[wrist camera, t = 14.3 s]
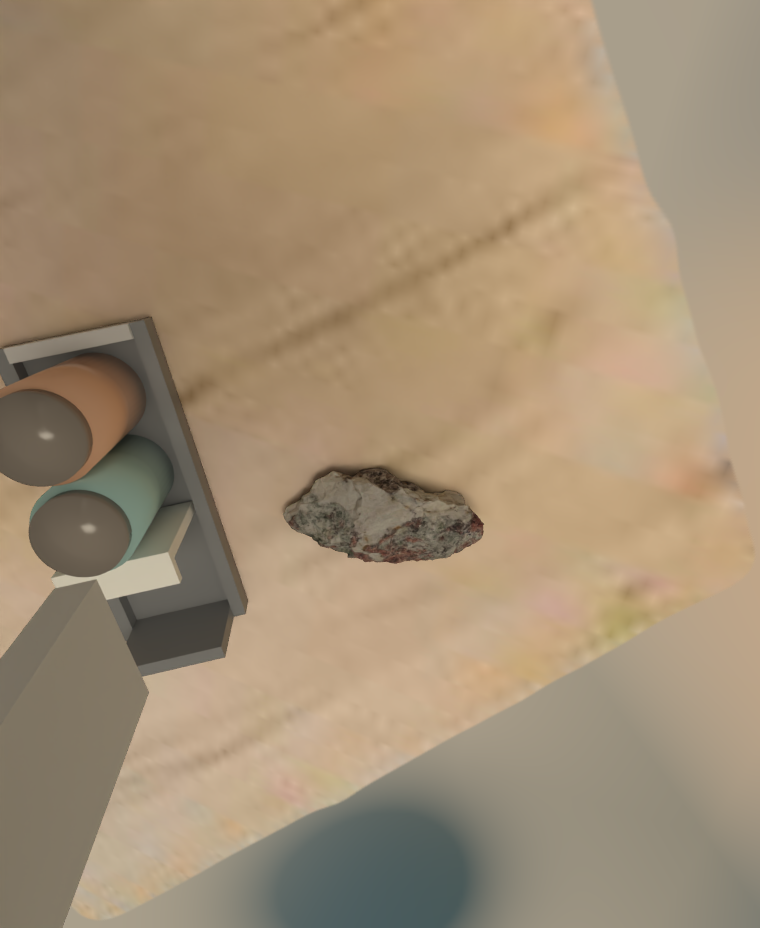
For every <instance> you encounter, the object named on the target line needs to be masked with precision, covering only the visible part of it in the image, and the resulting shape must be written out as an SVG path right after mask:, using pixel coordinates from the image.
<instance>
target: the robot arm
mask: <svg viewBox="0 0 760 928" xmlns="http://www.w3.org/2000/svg"><path fill="white" fill-rule="evenodd" d="M148 694H149V691H148V689H147V687H146V685H145V682H144V680H143V678H142V676H141V674H140V672H139V669H138V667H137V665H136V663H135V661H134V659H133V657H132V654H131V652H130V650H129V648H128V646H127V644H126V641H125V639H124V637H123V635H122V633H121V631H120V629H119V626H118V624H117V622H116V620H115V618H114V616H113V613H112V611H111V609H110V607H109V605H108V603H107V600H106V598H105V596H104V594H103V592H102V590H101V588H100V585H99V583H98V581H97V579H95V580H90V581H86V582H81V583H77V584H73V585H68V586H64V587H59V588H55V589H54V590H53V591H52V592H51V594H50V595H49V596H48V598H47V599H46V600H45V601H44V603H43V604H42V605H41V607H40V608H39V609H38V611H37V612H36V613H35V615H34V616H33V617H32V618H31V620H30V621H29V622H28V624H27V625H26V626H25V628H24V629H23V630H22V632H21V633H20V634H19V635H18V637H17V638H16V639H15V641H14V642H13V643H12V645H11V646H10V647H9V649H8V650H7V651H6V652H5V654H4V655H3V656H2V658H1V659H0V928H62V927H63V925H64V922H65V919H66V917H67V914H68V911H69V909H70V906H71V903H72V900H73V898H74V895H75V892H76V890H77V887H78V884H79V881H80V879H81V876H82V873H83V870H84V868H85V865H86V862H87V860H88V857H89V854H90V851H91V849H92V846H93V843H94V841H95V838H96V835H97V832H98V830H99V827H100V824H101V822H102V819H103V816H104V813H105V811H106V808H107V805H108V802H109V800H110V797H111V794H112V792H113V789H114V786H115V783H116V781H117V778H118V775H119V773H120V770H121V767H122V764H123V762H124V759H125V756H126V754H127V751H128V748H129V745H130V743H131V740H132V737H133V734H134V732H135V729H136V726H137V724H138V721H139V718H140V715H141V713H142V710H143V707H144V705H145V702H146V699H147V696H148Z"/></svg>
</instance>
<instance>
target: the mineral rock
mask: <svg viewBox="0 0 760 928" xmlns="http://www.w3.org/2000/svg"><path fill="white" fill-rule="evenodd" d="M283 515H284V519H285V520H286V522H287V523H288V524H289V525H290V527H291V528H292V529H294V530H296V531H297V532H300V533H303V534H305V535H308V536H310V537H312V538H313V540H315V541H317V542H318V544H319V545H320V546H322V547H326V548H329V547H330V548H331V549H333V550H335V551H338V552H345V553H347V554H348V558H359V559H363V561H364V562H371V561H375V562H390V563H395V564H397V563H400V562H403V561H410V560H415V561H419V560H434V559H439V558H447V557H450V556H451V555H452V554H454V553H458V552H460V551H462V550H463V549H464V548H465V547H468V546H470V545H472V544H474V543H476V542H477V541H478V540H480V539H481V538H482V535H483V525H484V523H482V522H481V520H480V519H479V518H478V516H477V515H476V514H475V513H474V512H473V511H472V510H471V509H470V507H469V506H467V505H465V500H464V498H463V496H462V495H460V494H458V493H456V492H454V491H449V490H445V491H444V492H443V493H435V492H433V493H425V492H424V491H423V490H422V489H421V488H420V487H418V486H417V485H415V484H412V483H409V482H400V481H399V479H397V478H396V477H394V476H393V475H391V474H390V473H389V472H388V471H386V470H383V469H380V468H375V469H367V470H361V471H360V472H359V473H358V474H356V475H355V476H353V477H352V476H349V475H345V474H343V473H340V472H336V471H332V472H331V473H329V474H328V475H327V476H325V477H321V478H319V479H317V480H315V483H314V484H313V486H312V488H311V490H310V492H309V493H307V494H305V495H303V496H302V498H301V499H300V500H299V501H297V502H296V503H294V504H291V505H290V506H288V507H287V508H286V511H285V513H284V514H283Z"/></svg>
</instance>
